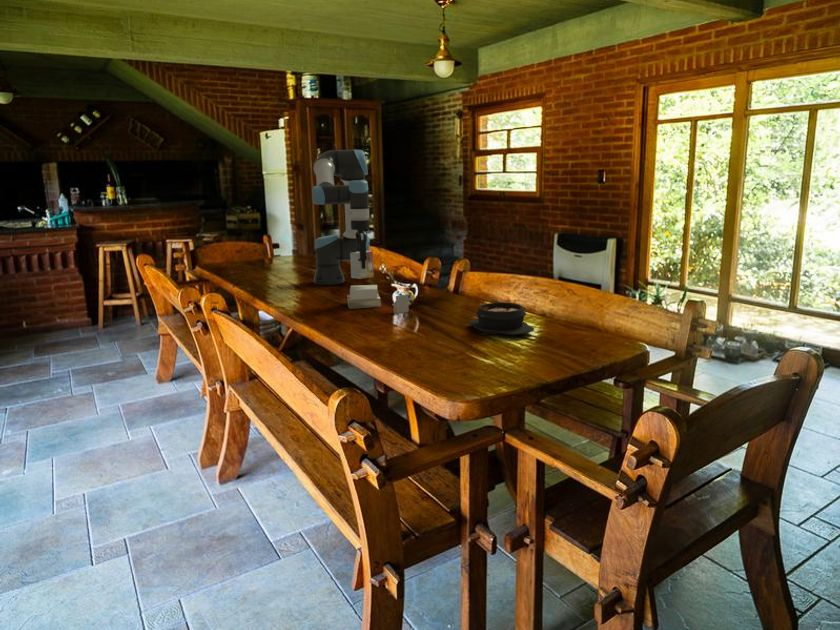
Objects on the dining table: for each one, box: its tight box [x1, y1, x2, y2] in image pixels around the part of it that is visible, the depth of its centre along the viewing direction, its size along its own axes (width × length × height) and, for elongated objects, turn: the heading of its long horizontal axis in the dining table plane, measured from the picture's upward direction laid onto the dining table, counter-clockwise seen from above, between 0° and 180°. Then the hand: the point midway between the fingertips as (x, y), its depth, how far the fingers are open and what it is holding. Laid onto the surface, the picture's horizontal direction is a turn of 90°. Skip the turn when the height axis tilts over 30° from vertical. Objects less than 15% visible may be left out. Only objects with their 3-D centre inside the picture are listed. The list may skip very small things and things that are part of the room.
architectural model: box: [391, 293, 411, 315], centre depth 235 cm, size 3×7×7 cm, turn 123°
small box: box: [349, 250, 374, 280], centre depth 246 cm, size 8×6×10 cm
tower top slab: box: [349, 284, 378, 300], centre depth 248 cm, size 9×11×4 cm
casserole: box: [468, 302, 535, 336], centre depth 204 cm, size 25×19×8 cm
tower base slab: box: [346, 292, 382, 310], centre depth 249 cm, size 11×13×4 cm
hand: (362, 274), depth 247 cm, fingers closed on small box, 9 cm apart
